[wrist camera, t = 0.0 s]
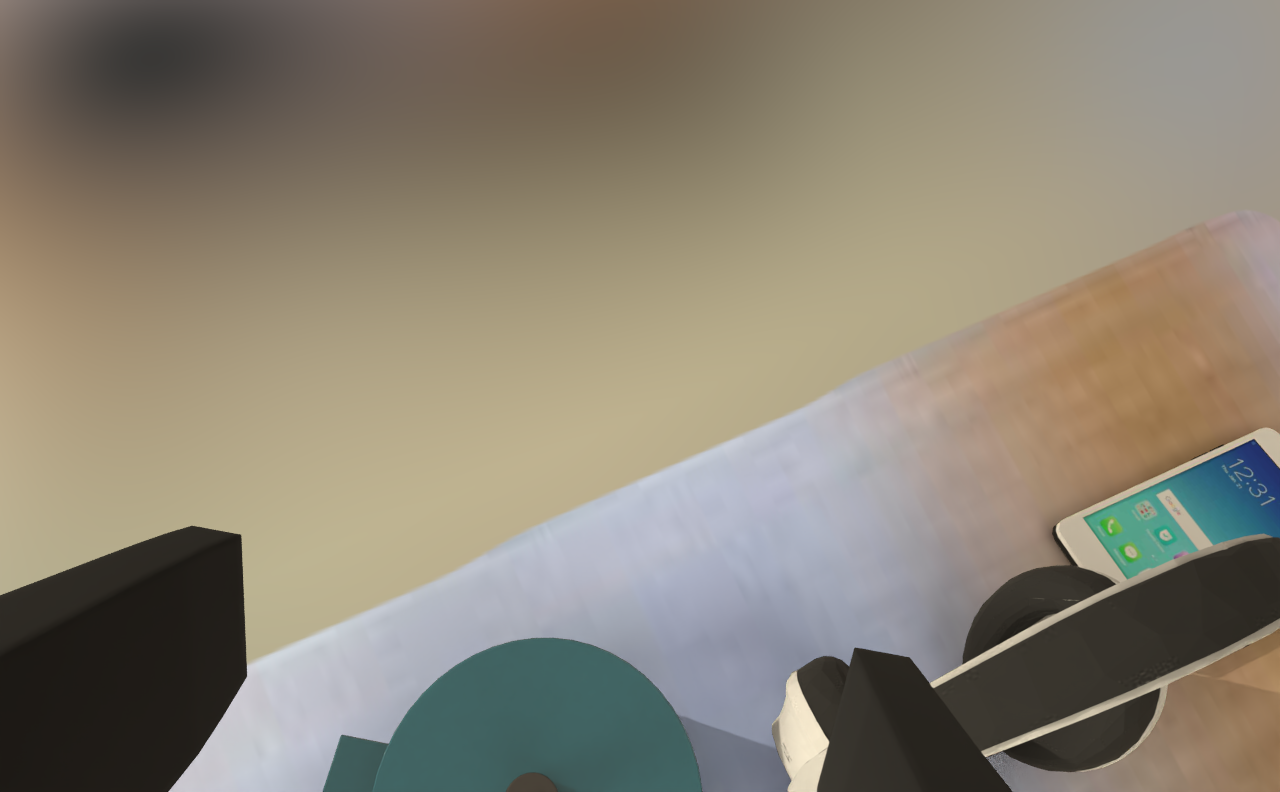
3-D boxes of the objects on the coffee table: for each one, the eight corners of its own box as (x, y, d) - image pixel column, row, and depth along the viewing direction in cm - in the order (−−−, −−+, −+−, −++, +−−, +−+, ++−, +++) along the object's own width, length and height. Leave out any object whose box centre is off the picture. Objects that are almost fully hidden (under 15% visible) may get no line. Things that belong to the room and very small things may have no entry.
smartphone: (1051, 522, 44) (1270, 421, 47) (1043, 527, 45) (1260, 428, 48) (1145, 656, 41) (1373, 539, 44) (1135, 660, 42) (1361, 544, 45)
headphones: (793, 907, 36) (956, 954, 19) (712, 716, 40) (785, 606, 22) (1152, 729, 40) (1566, 630, 23) (1048, 570, 44) (1335, 377, 26)
